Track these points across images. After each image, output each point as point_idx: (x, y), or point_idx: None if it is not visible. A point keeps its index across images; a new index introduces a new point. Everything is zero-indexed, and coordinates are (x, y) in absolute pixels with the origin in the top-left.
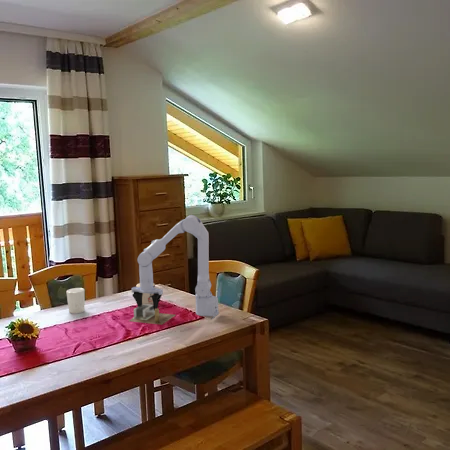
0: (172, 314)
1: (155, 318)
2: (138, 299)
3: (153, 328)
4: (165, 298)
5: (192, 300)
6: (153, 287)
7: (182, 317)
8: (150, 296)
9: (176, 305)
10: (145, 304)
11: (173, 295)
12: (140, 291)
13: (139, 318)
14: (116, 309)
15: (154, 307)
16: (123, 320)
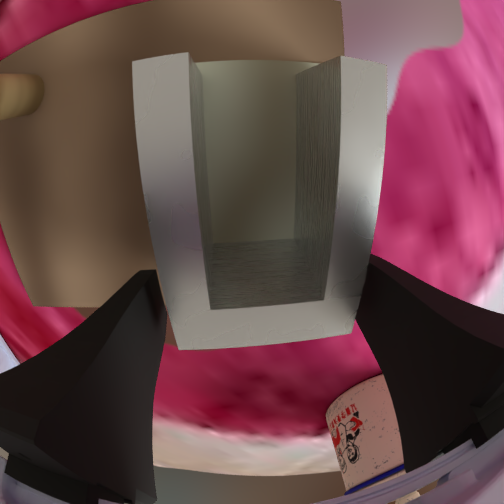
0: (53, 304)
1: (10, 74)
2: (433, 332)
3: (34, 11)
4: (302, 447)
5: (178, 457)
6: (348, 489)
7: (13, 298)
8: (351, 438)
9: (197, 426)
10: (308, 325)
11: (286, 463)
12: (485, 500)
13: (260, 82)
14: (490, 279)
15: (126, 288)
16: (413, 78)
